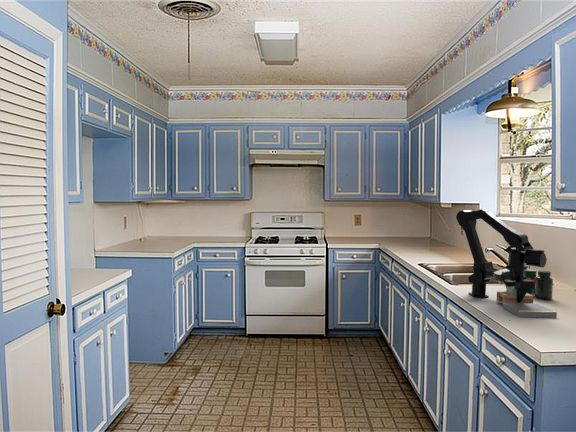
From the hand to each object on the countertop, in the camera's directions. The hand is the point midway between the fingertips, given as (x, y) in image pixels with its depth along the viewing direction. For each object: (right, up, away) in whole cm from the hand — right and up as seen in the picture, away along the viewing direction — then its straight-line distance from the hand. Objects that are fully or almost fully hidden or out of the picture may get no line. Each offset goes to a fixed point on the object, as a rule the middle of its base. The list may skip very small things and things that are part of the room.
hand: (514, 300), depth 177 cm
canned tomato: (+17, -1, +21) cm, 27 cm away
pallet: (0, -1, 0) cm, 1 cm away
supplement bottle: (+19, -1, +11) cm, 22 cm away
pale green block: (0, +3, 0) cm, 3 cm away
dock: (-1, -2, -12) cm, 12 cm away
